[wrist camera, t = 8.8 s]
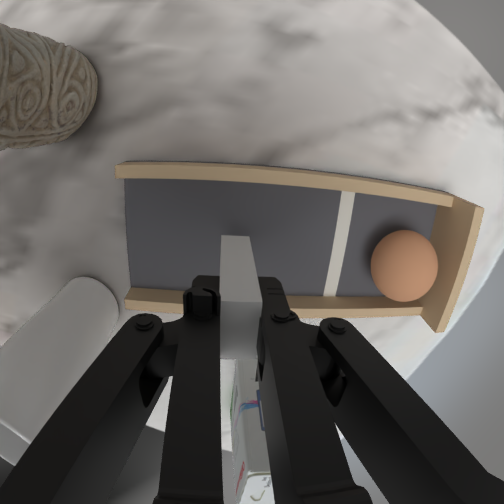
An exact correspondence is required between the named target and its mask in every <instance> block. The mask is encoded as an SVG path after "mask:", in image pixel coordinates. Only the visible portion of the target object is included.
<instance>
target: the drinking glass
mask: <svg viewBox="0 0 504 504" xmlns="http://www.w3.org/2000/svg"><path fill="white" fill-rule="evenodd" d="M118 315H119V310H118V304H117V301H116V299H115V297H114V295H113V294H112V292H111V291H110V290H109V289H108V288H107V287H106V286H105V285H104V284H102V283H101V282H99V281H98V280H96V279H93V278H90V277H77V278H74V279H72V280H70V281H69V282H68V283H67V284H66V285H65V286H64V287H63V288H62V289H61V290H60V291H59V292H58V293H57V294H56V295H55V296H54V297H53V298H52V299H51V300H50V301H49V302H47V303H46V304H45V305H44V306H43V307H42V308H41V309H40V310H39V311H38V312H37V313H36V314H34V315H33V316H32V317H31V318H30V319H29V320H28V321H27V322H26V323H25V324H24V325H23V326H22V327H21V328H20V329H19V330H18V331H17V332H16V333H15V334H13V335H12V336H11V337H10V338H9V339H8V340H7V341H6V342H5V343H4V344H3V345H2V346H1V348H0V456H1V457H2V458H3V459H5V460H6V461H8V462H9V463H11V464H12V465H14V466H15V465H16V464H17V462H18V461H19V460H20V458H21V457H22V455H23V454H24V452H25V451H26V450H27V448H28V447H29V445H30V444H31V443H32V441H33V440H34V438H35V437H36V436H37V434H38V433H39V432H40V430H41V429H42V427H43V426H44V425H45V423H46V422H47V421H48V419H49V418H50V417H51V415H52V414H53V413H54V411H55V410H56V409H57V407H58V406H59V405H60V404H61V402H62V401H63V400H64V398H65V397H66V396H67V394H68V393H69V392H70V391H71V389H72V388H73V387H74V385H75V384H76V383H77V382H78V380H79V379H80V378H81V377H82V375H83V374H84V373H85V372H86V370H87V369H88V368H89V367H90V365H91V364H92V363H93V362H94V360H95V359H96V358H97V357H98V355H99V354H100V353H101V352H102V351H103V349H104V348H105V347H106V346H107V344H108V341H109V338H110V336H111V333H112V331H113V329H114V327H115V325H116V323H117V320H118Z"/></svg>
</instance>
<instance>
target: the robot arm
mask: <svg viewBox="0 0 504 504" xmlns="http://www.w3.org/2000/svg"><path fill="white" fill-rule="evenodd" d="M183 314H184V315H183V317H182V318H180V319H178V320H176V321H172V322H166V323H162V319H160V318H159V317H158V316H156V315H153V314H147V313H144V314H138V315H135V316H132V317H131V318H130V319H129V320H128V321H127V322H126V323H125V324H124V325H123V326H122V328H121V329H120V330H119V331H118V332H117V334H116V335H115V336H114V337H113V338H112V340H111V341H110V342H109V343H108V344H107V346H106V347H105V348H104V349H103V351H102V352H101V353H100V354H99V355H98V357H97V358H96V359H95V360H94V362H93V363H92V364H91V365H90V367H89V368H88V369H87V370H86V372H85V373H84V374H83V375H82V377H81V378H80V379H79V380H78V382H77V383H76V384H75V385H74V387H73V388H72V389H71V391H70V392H69V393H68V394H67V396H66V397H65V398H64V400H63V401H62V402H61V404H60V405H59V406H58V407H57V409H56V410H55V411H54V413H53V414H52V415H51V417H50V418H49V419H48V421H47V422H46V423H45V425H44V426H43V427H42V429H41V430H40V432H39V433H38V434H37V436H36V437H35V438H34V440H33V441H32V443H31V444H30V445H29V447H28V448H27V450H26V451H25V452H24V454H23V455H22V457H21V458H20V460H19V461H18V462H17V464H16V465H15V467H14V468H13V470H12V471H11V473H10V474H9V476H8V477H7V479H6V480H5V482H4V483H3V485H2V486H1V488H0V504H105V503H106V501H107V499H108V497H109V495H110V493H111V491H112V489H113V487H114V485H115V483H116V481H117V479H118V477H119V475H120V473H121V471H122V469H123V467H124V465H125V464H126V462H127V460H128V457H129V456H130V454H131V452H132V449H133V448H134V446H135V444H136V442H137V440H138V438H139V436H140V434H141V432H142V430H143V428H144V426H145V424H146V422H147V420H148V418H149V417H150V415H151V413H152V411H153V409H154V407H155V405H156V403H157V401H158V399H159V397H160V395H161V393H162V391H163V389H164V388H165V386H166V384H167V382H168V379H169V376H173V379H172V386H171V392H170V399H169V406H168V414H167V421H166V429H165V437H164V445H163V453H162V463H161V472H160V482H159V491H158V495H157V496H156V497H155V498H154V501H153V504H224V501H223V482H222V453H221V403H220V359H256V354H257V356H258V362H257V370H256V377H255V382H258V383H259V390H260V398H261V406H262V413H263V421H264V428H265V436H266V443H267V450H268V458H269V465H270V472H271V480H272V487H273V494H274V501H275V504H373V503H372V500H371V497H370V495H369V493H368V491H367V490H366V489H365V488H364V487H361V486H358V485H356V484H355V483H354V481H353V478H352V475H351V472H350V469H349V466H348V462H347V459H346V456H345V453H344V450H343V447H342V444H341V441H340V438H339V434H338V431H337V428H336V425H337V427H338V428H339V430H340V431H341V433H342V434H343V436H344V437H345V439H346V440H347V442H348V443H349V445H350V446H351V448H352V449H353V451H354V452H355V454H356V455H357V457H358V458H359V460H360V461H361V463H362V464H363V466H364V467H365V469H366V470H367V472H368V473H369V474H370V476H371V477H372V479H373V480H374V482H375V483H376V485H377V486H378V488H379V489H380V491H381V492H382V493H383V495H384V496H385V498H386V499H387V501H388V502H389V504H504V481H502V480H501V479H499V478H497V477H495V476H493V475H492V474H490V473H488V472H487V471H486V470H485V469H484V467H483V466H482V465H481V464H480V463H479V462H478V460H477V459H476V458H475V457H474V456H473V455H472V454H471V453H470V451H469V450H468V449H467V448H466V447H465V446H464V445H463V444H462V442H461V441H459V439H458V438H457V437H456V436H455V435H454V433H453V432H452V431H451V430H450V429H449V428H448V427H447V426H446V425H445V424H444V423H443V421H442V420H441V419H440V418H439V417H438V416H437V415H436V414H435V413H434V411H433V410H432V409H431V408H430V407H429V406H428V405H427V404H426V403H425V402H424V401H423V399H422V398H421V397H420V396H419V395H418V394H417V393H416V392H415V391H414V390H413V389H412V388H411V387H410V385H409V384H408V383H407V382H406V381H405V380H404V379H403V378H402V377H401V376H400V375H399V374H398V372H397V371H396V370H395V369H394V368H393V367H392V366H391V365H390V364H389V363H388V362H387V361H386V360H385V359H384V358H383V357H382V355H381V354H380V353H379V352H378V351H377V350H376V349H375V348H374V347H373V346H372V345H371V344H370V343H369V342H368V341H367V340H366V339H365V338H364V336H363V335H362V334H361V333H360V332H359V331H358V330H357V329H356V328H355V327H354V326H353V325H352V324H351V323H349V322H348V321H346V320H344V319H342V318H337V317H328V318H326V319H323V320H322V321H321V322H320V326H315V325H310V324H306V323H303V322H301V321H300V320H299V317H298V315H297V314H296V313H295V312H293V311H292V310H290V308H289V305H288V302H287V299H286V296H285V293H284V290H283V287H282V284H281V282H280V281H279V280H278V279H277V278H275V277H258V276H257V272H256V267H255V262H254V257H253V252H252V247H251V242H250V238H249V236H230V235H221V256H220V276H210V275H198V276H197V277H196V278H194V279H193V281H192V286H191V288H189V289H188V290H186V291H185V292H184V294H183ZM335 424H336V425H335Z"/></svg>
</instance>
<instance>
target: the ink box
mask: <svg viewBox="0 0 504 504" xmlns="http://www.w3.org/2000/svg"><path fill="white" fill-rule="evenodd" d="M257 362H258V356H257V355H256V359H236V366H235V376H234V385H233V393H232V402H231V409H230V417H231V436H232V451H233V466H234V480H235V495H236V504H275V501H274V494H273V487H272V480H271V472H270V465H269V458H268V450H267V443H266V436H265V428H264V421H263V413H262V406H261V398H260V390H259V383H258V382H255V377H256V370H257Z"/></svg>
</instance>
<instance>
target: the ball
mask: <svg viewBox="0 0 504 504" xmlns="http://www.w3.org/2000/svg"><path fill="white" fill-rule="evenodd" d="M437 272H438V259H437V255H436V252H435V250H434V248H433V246H432V244H431V243H430V242H429V241H428V240H427V239H426V238H425V237H424V236H422V235H421V234H419V233H417V232H414V231H410V230H399V231H395V232H392V233H390V234H388V235H387V236H385V237H384V238H383V239H382V240H381V241H380V242H379V243H378V245H377V246H376V248H375V249H374V252H373V254H372V258H371V275H372V278H373V281H374V283H375V285H376V287H377V288H378V289H379V291H380V292H381V293H382V294H384V295H385V296H386V297H388V298H390V299H392V300H395V301H400V302H408V301H413V300H416V299H418V298H420V297H422V296H423V295H424V294H425V293H427V292H428V291H429V289H430V288H431V287H432V285H433V283H434V281H435V279H436V276H437Z"/></svg>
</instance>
